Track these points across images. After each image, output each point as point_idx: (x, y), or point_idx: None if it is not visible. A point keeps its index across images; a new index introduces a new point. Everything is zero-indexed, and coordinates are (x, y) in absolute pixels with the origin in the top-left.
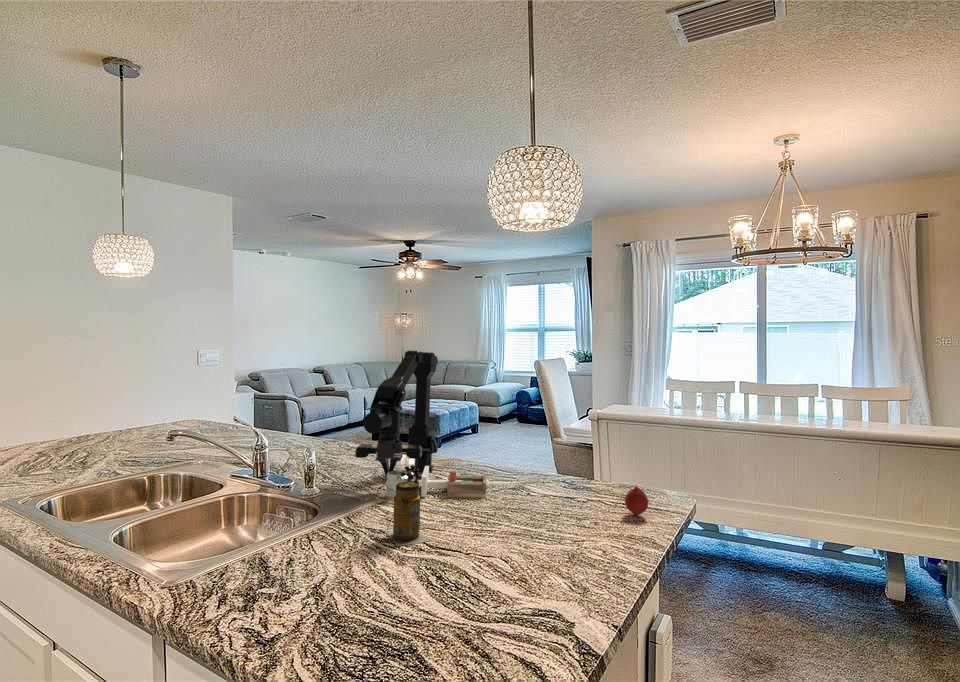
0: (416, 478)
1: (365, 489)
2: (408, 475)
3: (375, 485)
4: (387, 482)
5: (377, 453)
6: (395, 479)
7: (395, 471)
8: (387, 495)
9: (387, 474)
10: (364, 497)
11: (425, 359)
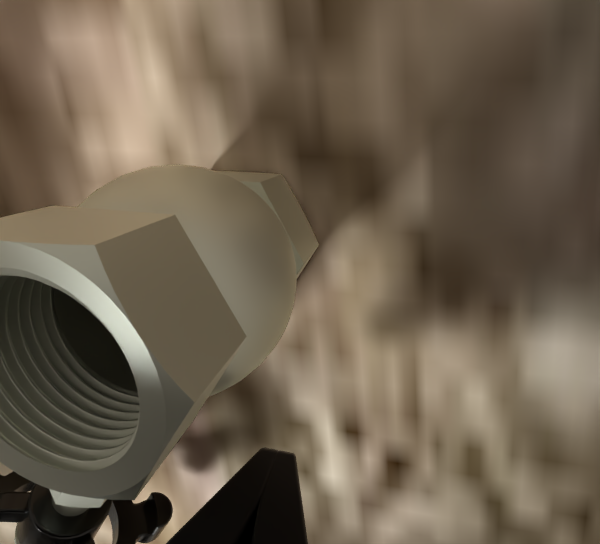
0: (8, 483)
1: (547, 454)
2: (46, 514)
3: (439, 533)
4: (237, 230)
5: None
6: (49, 210)
7: (35, 462)
8: (289, 194)
9: (196, 362)
10: (582, 197)
11: None
